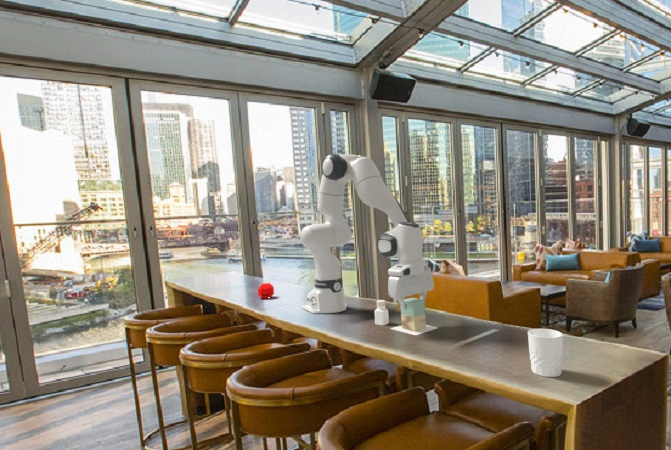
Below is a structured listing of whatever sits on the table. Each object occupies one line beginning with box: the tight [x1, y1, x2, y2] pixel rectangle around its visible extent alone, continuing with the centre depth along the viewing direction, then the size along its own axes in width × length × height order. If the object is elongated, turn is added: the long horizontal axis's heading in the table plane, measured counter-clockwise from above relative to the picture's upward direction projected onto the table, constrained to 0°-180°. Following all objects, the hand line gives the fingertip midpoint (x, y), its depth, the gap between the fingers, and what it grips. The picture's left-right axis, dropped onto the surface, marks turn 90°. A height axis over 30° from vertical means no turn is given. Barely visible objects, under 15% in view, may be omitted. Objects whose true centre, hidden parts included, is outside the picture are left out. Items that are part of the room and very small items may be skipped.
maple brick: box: [400, 313, 427, 332], centre depth 143 cm, size 6×6×5 cm
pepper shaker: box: [374, 299, 390, 326], centre depth 152 cm, size 4×4×10 cm
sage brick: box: [400, 297, 426, 317], centre depth 143 cm, size 6×6×5 cm
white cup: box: [527, 328, 564, 378], centre depth 102 cm, size 8×8×10 cm
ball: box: [257, 282, 275, 299], centre depth 217 cm, size 8×8×8 cm
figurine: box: [395, 296, 408, 313], centre depth 169 cm, size 8×6×12 cm
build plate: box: [389, 324, 438, 336], centre depth 143 cm, size 12×12×1 cm
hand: (412, 306), depth 143 cm, fingers open, 8 cm apart
